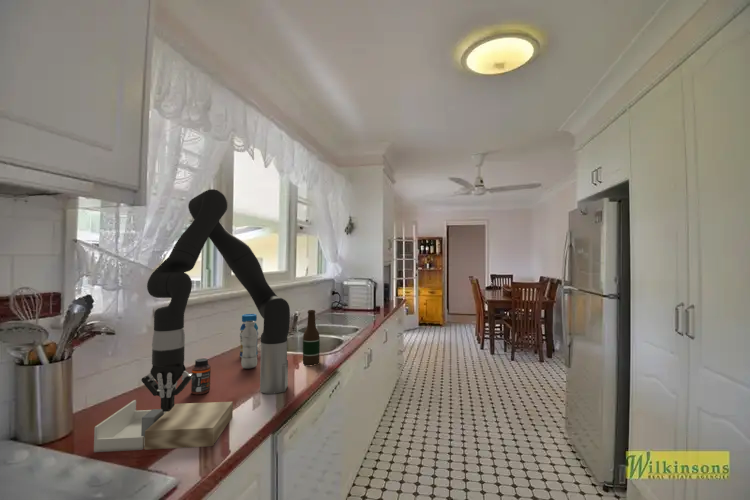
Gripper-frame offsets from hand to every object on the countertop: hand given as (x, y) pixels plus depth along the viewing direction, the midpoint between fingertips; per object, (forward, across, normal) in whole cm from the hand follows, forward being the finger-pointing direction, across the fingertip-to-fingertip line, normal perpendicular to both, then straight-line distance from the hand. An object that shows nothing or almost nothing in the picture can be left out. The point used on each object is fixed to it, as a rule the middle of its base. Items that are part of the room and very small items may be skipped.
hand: (167, 410), depth 92 cm
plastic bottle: (+6, -8, -55) cm, 56 cm away
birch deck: (+6, -7, 0) cm, 9 cm away
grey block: (+3, +2, 0) cm, 4 cm away
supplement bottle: (+6, +2, -29) cm, 30 cm away
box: (+6, +7, 0) cm, 9 cm away
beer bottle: (+6, -34, -59) cm, 68 cm away
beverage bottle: (+6, -2, -74) cm, 74 cm away
